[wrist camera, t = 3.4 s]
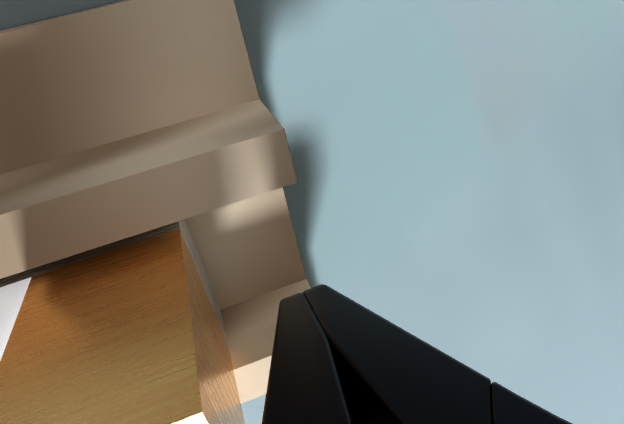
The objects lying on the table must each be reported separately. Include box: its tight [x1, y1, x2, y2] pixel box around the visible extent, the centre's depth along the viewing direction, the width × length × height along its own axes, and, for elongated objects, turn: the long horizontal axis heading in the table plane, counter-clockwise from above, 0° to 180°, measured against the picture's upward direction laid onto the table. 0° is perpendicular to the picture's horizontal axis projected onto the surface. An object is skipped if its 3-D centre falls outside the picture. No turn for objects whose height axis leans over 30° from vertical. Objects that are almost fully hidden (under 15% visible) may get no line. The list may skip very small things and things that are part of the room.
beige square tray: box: [0, 0, 311, 404], centre depth 10 cm, size 10×10×3 cm
